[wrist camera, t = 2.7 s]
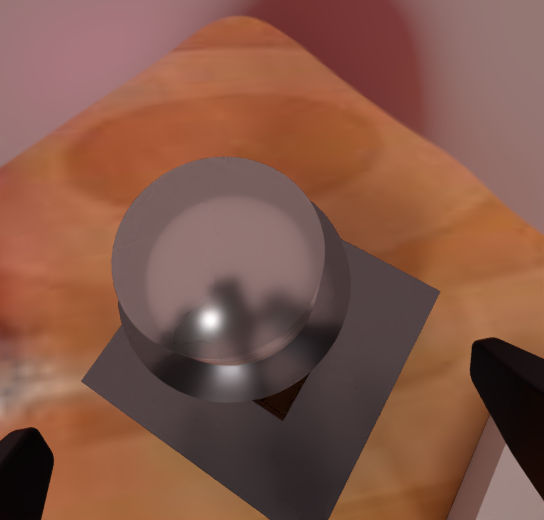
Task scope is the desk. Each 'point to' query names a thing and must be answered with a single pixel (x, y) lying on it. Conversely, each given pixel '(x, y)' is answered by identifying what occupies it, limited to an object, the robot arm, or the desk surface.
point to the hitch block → (303, 411)
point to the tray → (495, 484)
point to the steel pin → (229, 280)
